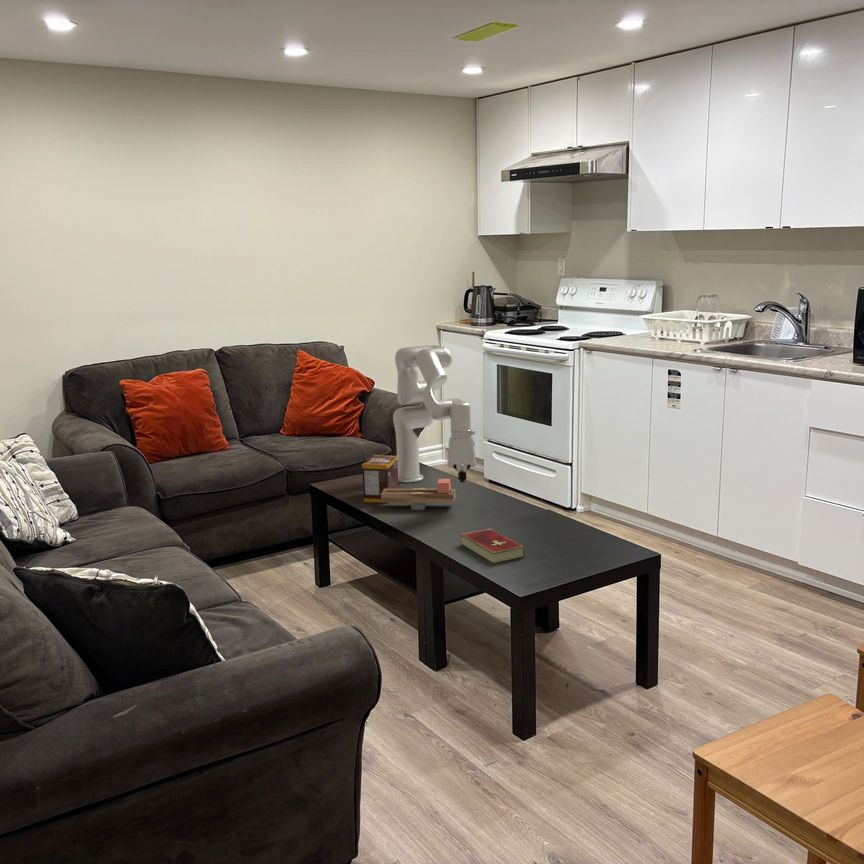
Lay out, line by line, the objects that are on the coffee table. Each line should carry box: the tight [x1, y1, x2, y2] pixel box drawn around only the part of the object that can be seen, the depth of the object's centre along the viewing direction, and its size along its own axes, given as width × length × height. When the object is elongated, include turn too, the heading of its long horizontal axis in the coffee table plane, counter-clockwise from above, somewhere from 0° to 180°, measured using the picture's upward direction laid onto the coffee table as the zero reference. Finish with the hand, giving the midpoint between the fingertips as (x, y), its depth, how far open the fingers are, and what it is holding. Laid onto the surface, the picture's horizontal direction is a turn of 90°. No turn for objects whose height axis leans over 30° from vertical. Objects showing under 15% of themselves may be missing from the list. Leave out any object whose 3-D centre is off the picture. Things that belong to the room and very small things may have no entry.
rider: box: [436, 478, 452, 493], centre depth 329 cm, size 6×4×6 cm
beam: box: [381, 487, 457, 511], centre depth 331 cm, size 8×28×6 cm, turn 83°
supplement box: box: [361, 454, 400, 504], centre depth 345 cm, size 10×15×16 cm
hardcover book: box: [460, 528, 526, 564], centre depth 282 cm, size 12×21×4 cm, turn 27°
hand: (462, 481), depth 327 cm, fingers closed
